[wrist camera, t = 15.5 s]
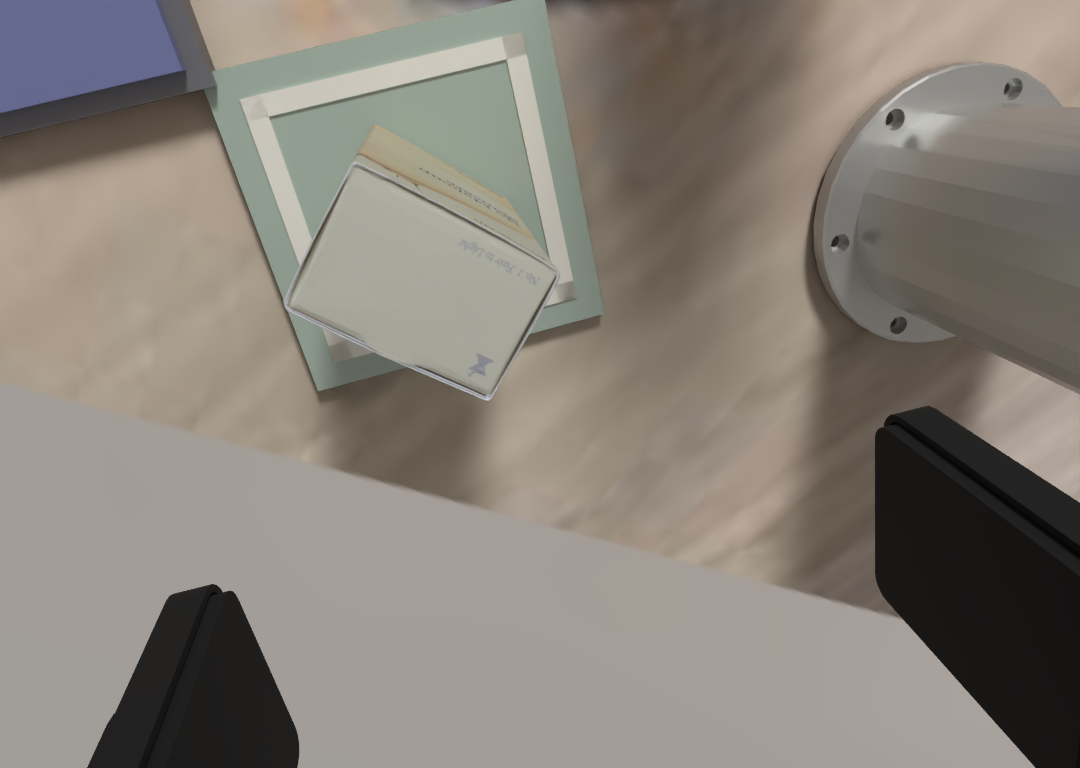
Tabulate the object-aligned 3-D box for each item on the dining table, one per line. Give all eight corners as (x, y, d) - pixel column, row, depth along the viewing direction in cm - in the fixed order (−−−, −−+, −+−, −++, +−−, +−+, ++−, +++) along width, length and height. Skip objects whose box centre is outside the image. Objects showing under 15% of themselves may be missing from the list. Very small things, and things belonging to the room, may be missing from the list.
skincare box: (510, 198, 31) (576, 271, 20) (459, 291, 32) (495, 409, 21) (367, 118, 29) (354, 150, 18) (318, 221, 30) (277, 311, 19)
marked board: (540, -6, 29) (544, -7, 28) (601, 309, 34) (605, 314, 34) (201, 74, 28) (197, 74, 27) (319, 386, 33) (318, 392, 33)
